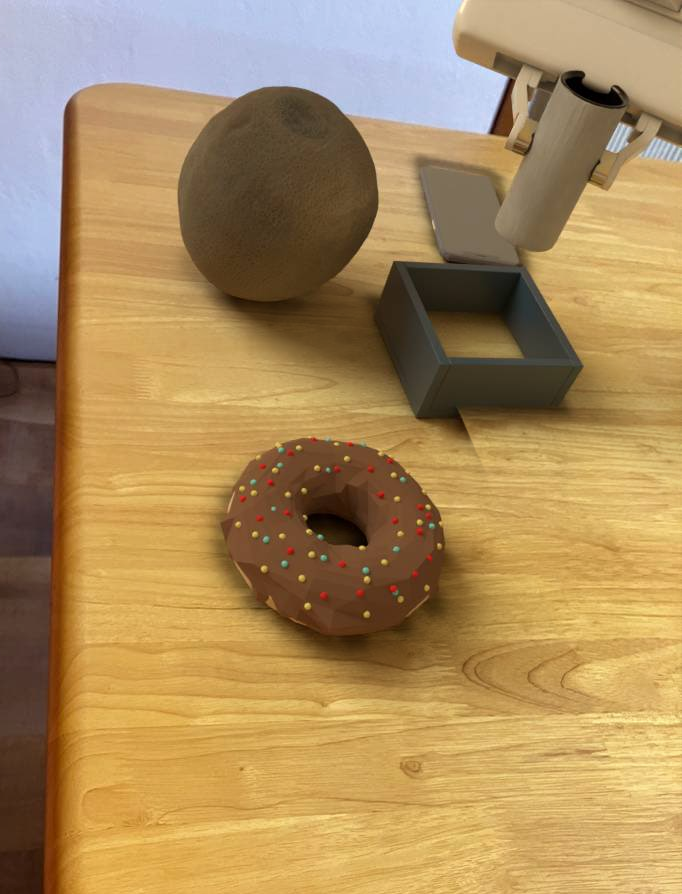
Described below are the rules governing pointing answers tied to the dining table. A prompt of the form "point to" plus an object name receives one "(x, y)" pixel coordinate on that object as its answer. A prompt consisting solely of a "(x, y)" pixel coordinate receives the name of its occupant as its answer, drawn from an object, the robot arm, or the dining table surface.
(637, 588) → the dining table surface
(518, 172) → the beige hollow cylinder
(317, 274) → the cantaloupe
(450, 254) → the smartphone
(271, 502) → the donut
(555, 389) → the bin
